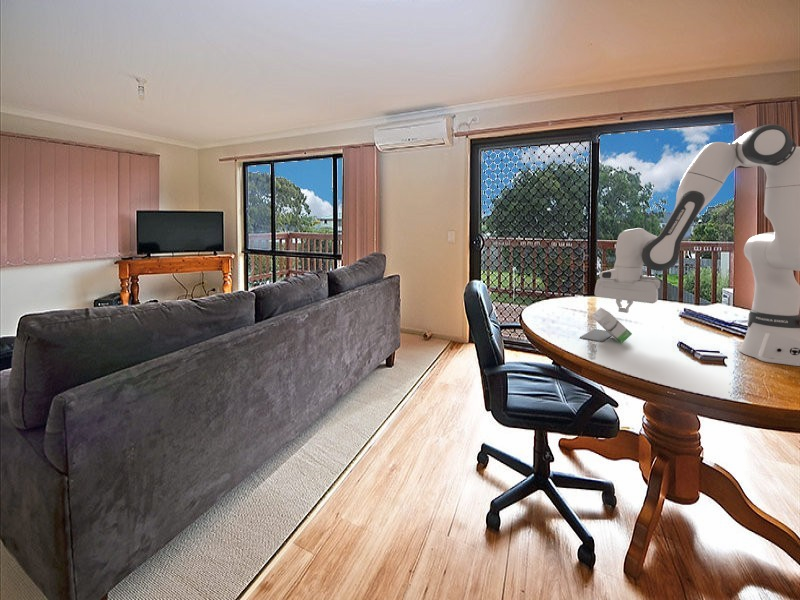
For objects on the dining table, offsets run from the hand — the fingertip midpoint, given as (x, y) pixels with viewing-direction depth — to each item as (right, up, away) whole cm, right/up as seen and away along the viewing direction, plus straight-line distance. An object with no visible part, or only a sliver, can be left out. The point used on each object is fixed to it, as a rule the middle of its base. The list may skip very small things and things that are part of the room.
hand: (623, 312), depth 149 cm
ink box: (0, -9, +1) cm, 9 cm away
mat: (-6, -9, +7) cm, 13 cm away
